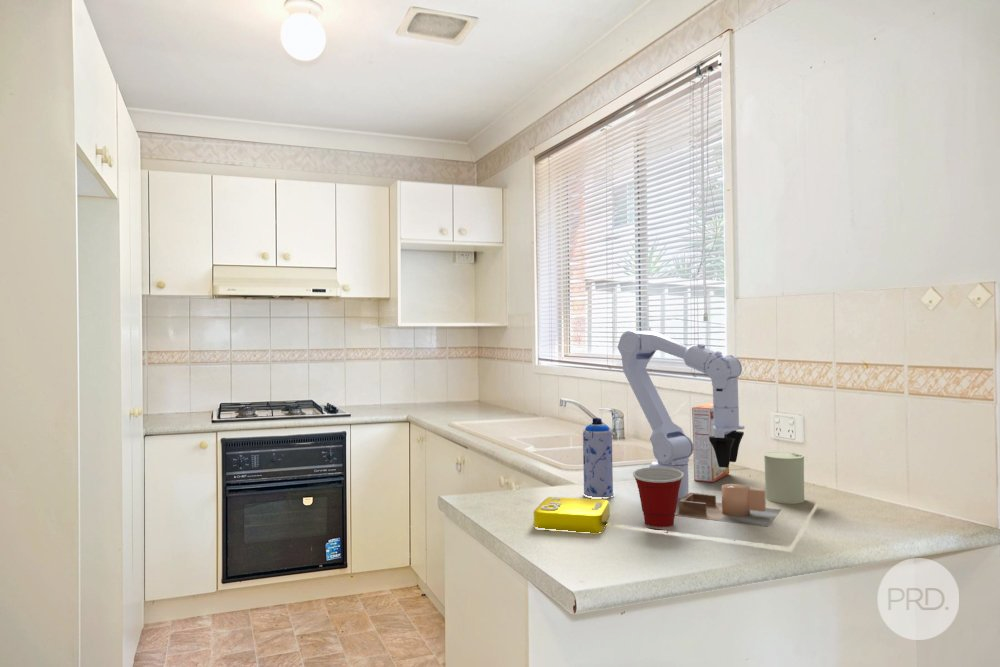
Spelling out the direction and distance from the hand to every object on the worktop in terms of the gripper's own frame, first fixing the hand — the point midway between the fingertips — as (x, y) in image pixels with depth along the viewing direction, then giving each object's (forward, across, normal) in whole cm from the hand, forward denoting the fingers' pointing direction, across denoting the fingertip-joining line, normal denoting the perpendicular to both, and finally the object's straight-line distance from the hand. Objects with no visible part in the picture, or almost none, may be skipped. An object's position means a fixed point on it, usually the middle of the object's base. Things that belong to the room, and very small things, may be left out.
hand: (727, 464), depth 168 cm
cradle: (+10, -7, -2) cm, 13 cm away
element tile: (+11, -28, +28) cm, 41 cm away
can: (+11, +12, -10) cm, 19 cm away
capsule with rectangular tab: (+10, -7, -5) cm, 13 cm away
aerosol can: (+10, -2, +32) cm, 34 cm away
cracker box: (+10, +33, +12) cm, 37 cm away
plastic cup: (+11, -23, +10) cm, 27 cm away
